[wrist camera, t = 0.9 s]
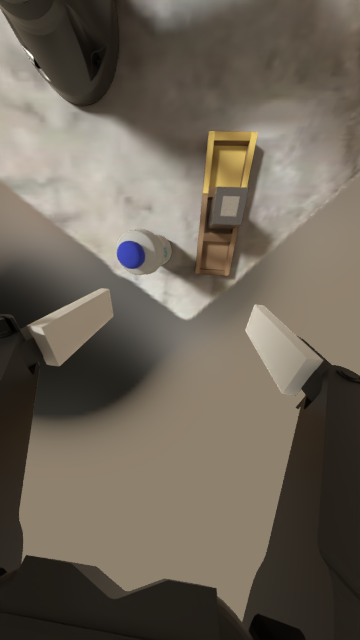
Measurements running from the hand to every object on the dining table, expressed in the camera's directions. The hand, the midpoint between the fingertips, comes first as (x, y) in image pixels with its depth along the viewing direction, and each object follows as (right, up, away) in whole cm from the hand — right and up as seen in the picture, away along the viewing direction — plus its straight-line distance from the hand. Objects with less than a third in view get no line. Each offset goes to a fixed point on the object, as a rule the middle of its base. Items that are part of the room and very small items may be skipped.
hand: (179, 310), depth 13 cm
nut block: (+8, +21, +17) cm, 28 cm away
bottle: (-5, +16, +22) cm, 28 cm away
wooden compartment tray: (+9, +21, +18) cm, 29 cm away
